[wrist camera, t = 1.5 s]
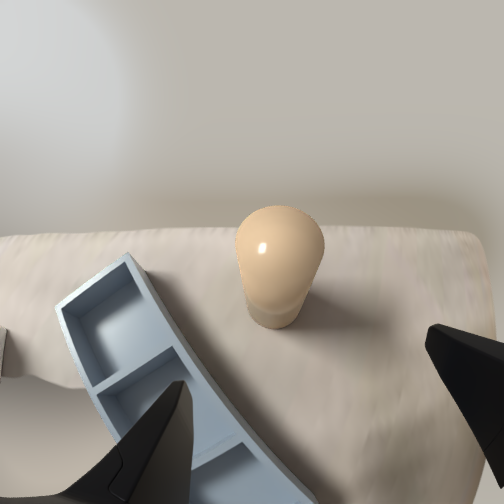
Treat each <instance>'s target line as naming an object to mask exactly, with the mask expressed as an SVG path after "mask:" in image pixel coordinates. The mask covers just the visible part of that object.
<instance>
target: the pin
mask: <svg viewBox="0 0 504 504" xmlns="http://www.w3.org/2000/svg"><path fill="white" fill-rule="evenodd" d="M235 247H236V253H237V258H238V263H239V268H240V273H241V278H242V283H243V288H244V293H245V298H246V303H247V308H248V311H249V314H250V316H251V317H252V319H253V320H254V321H255V322H256V323H258V324H259V325H261V326H263V327H266V328H270V329H278V328H282V327H285V326H287V325H289V324H290V323H292V322H293V321H294V320H295V319H296V317H297V316H298V314H299V312H300V309H301V307H302V305H303V303H304V300H305V298H306V296H307V293H308V291H309V289H310V286H311V284H312V282H313V279H314V277H315V275H316V272H317V270H318V267H319V265H320V262H321V260H322V257H323V254H324V237H323V234H322V231H321V229H320V228H319V226H318V225H317V223H316V222H315V221H314V220H313V219H312V218H311V217H310V216H309V215H307V214H306V213H304V212H303V211H301V210H298V209H296V208H293V207H289V206H269V207H265V208H262V209H259V210H257V211H255V212H254V213H252V214H251V215H249V216H248V217H247V218H246V219H245V220H244V221H243V222H242V224H241V226H240V227H239V229H238V232H237V235H236V240H235Z"/></svg>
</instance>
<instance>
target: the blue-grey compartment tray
mask: <svg viewBox="0 0 504 504" xmlns="http://www.w3.org/2000/svg"><path fill="white" fill-rule="evenodd" d="M55 309H56V313H57V316H58V319H59V322H60V325H61V328H62V331H63V334H64V337H65V339H66V342H67V345H68V347H69V350H70V352H71V355H72V357H73V360H74V362H75V365H76V367H77V369H78V372H79V374H80V376H81V378H82V380H83V383H84V385H85V387H86V389H87V391H88V393H89V395H90V397H91V399H92V401H93V403H94V405H95V407H96V409H97V410H98V412H99V414H100V416H101V418H102V419H103V421H104V423H105V425H106V426H107V428H108V430H109V432H110V433H111V435H112V436H113V438H114V440H115V441H116V443H118V442H119V441H120V440H121V439H122V437H123V436H124V435H125V434H126V433H127V432H128V431H129V430H130V429H131V428H132V426H133V425H134V424H135V423H136V422H137V421H138V420H139V419H140V418H141V416H142V415H143V414H144V413H145V412H146V411H147V410H148V409H149V407H150V406H151V405H152V404H153V403H154V402H155V401H156V399H157V398H158V397H159V396H160V395H161V394H162V393H163V392H164V390H165V389H166V388H167V387H168V386H169V385H170V384H171V382H172V381H175V380H184V381H185V382H186V383H187V386H188V388H189V390H190V393H191V395H192V399H193V424H194V445H193V456H192V468H191V481H190V495H189V504H319V503H318V501H317V499H316V497H315V495H314V494H313V493H312V492H311V491H310V490H309V489H308V488H307V487H306V486H305V485H304V484H303V483H302V482H301V481H300V480H299V479H298V478H297V477H296V476H295V475H294V474H293V473H292V472H291V471H290V470H289V469H288V468H287V467H286V466H285V465H284V464H283V463H282V462H281V461H280V459H279V458H278V457H277V456H276V455H275V454H274V453H273V452H272V451H271V450H270V448H269V447H268V446H267V445H266V444H265V443H264V442H263V441H262V439H261V438H260V437H259V436H258V435H257V434H256V432H255V431H254V430H253V429H252V428H251V426H250V425H249V424H248V423H247V422H246V420H245V419H244V418H243V417H242V415H241V414H240V413H239V412H238V410H237V409H236V408H235V407H234V405H233V404H232V403H231V402H230V400H229V399H228V398H227V396H226V395H225V394H224V392H223V391H222V390H221V388H220V387H219V386H218V384H217V383H216V382H215V380H214V379H213V378H212V376H211V375H210V373H209V372H208V371H207V369H206V368H205V366H204V365H203V364H202V362H201V361H200V359H199V358H198V356H197V355H196V353H195V352H194V351H193V349H192V348H191V346H190V345H189V343H188V342H187V340H186V339H185V337H184V336H183V334H182V332H181V331H180V329H179V328H178V326H177V325H176V323H175V322H174V320H173V318H172V317H171V315H170V314H169V312H168V310H167V309H166V307H165V305H164V304H163V302H162V300H161V299H160V297H159V295H158V294H157V292H156V290H155V288H154V287H153V285H152V283H151V282H150V280H149V278H148V276H147V274H146V273H145V271H144V269H143V268H142V267H141V266H140V265H139V264H138V263H137V262H136V260H135V259H134V258H133V257H132V256H131V255H130V254H129V252H127V253H126V254H124V255H123V256H122V257H120V258H119V259H117V260H116V261H115V262H113V263H112V264H110V265H109V266H108V267H106V268H105V269H103V270H102V271H101V272H99V273H98V274H97V275H95V276H94V277H93V278H91V279H90V280H89V281H87V282H86V283H85V284H83V285H82V286H81V287H79V288H78V289H77V290H75V291H74V292H73V293H71V294H70V295H69V296H68V297H66V298H65V299H64V300H62V301H61V302H60V303H59V304H57V305H56V306H55Z"/></svg>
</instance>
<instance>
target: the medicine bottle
mask: <svg viewBox="0 0 504 504" xmlns="http://www.w3.org/2000/svg"><path fill="white" fill-rule="evenodd" d="M6 332H7V330H6V328H5V327H3V326H0V382H1V370H2V360H3V352H4V345H5V338H6Z"/></svg>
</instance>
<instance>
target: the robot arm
mask: <svg viewBox="0 0 504 504" xmlns="http://www.w3.org/2000/svg"><path fill="white" fill-rule="evenodd" d="M425 348H426V351H427V352H428V354H429V356H430V358H431V360H432V362H433V364H434V366H435V368H436V370H437V372H438V374H439V376H440V378H441V379H442V381H443V383H444V384H445V386H446V387H447V389H448V391H449V392H450V394H451V395H452V397H453V399H454V400H455V402H456V404H457V405H458V407H459V409H460V411H461V412H462V414H463V416H464V417H465V419H466V421H467V423H468V424H469V426H470V428H471V430H472V432H473V434H474V435H475V437H476V439H477V441H478V443H479V445H480V447H481V449H482V451H483V452H484V455H485V457H486V459H487V461H488V463H489V465H490V467H491V469H492V472H493V474H494V476H495V478H496V480H497V483H498V485H499V487H500V488H501V489H502V488H503V487H504V343H502V342H498V341H495V340H492V339H488V338H485V337H481V336H478V335H475V334H471V333H468V332H465V331H461V330H458V329H455V328H452V327H448V326H445V325H442V324H435V325H432V326H430V327H429V329H428V332H427V337H426V341H425ZM193 445H194V424H193V399H192V395H191V393H190V390H189V388H188V386H187V383H186V382H185V381H184V380H175V381H172V382H171V384H170V385H169V386H168V387H167V388H166V389H165V390H164V392H163V393H162V394H161V395H160V396H159V397H158V398H157V399H156V401H155V402H154V403H153V404H152V405H151V406H150V407H149V409H148V410H147V411H146V412H145V413H144V414H143V415H142V416H141V418H140V419H139V420H138V421H137V422H136V423H135V424H134V425H133V426H132V428H131V429H130V430H129V431H128V432H127V433H126V434H125V435H124V436H123V437H122V439H121V440H120V441H119V442H118V443H117V446H116V445H115V446H114V447H113V448H112V449H111V450H110V452H109V453H108V454H107V455H106V456H105V457H104V458H103V459H102V460H101V461H100V462H99V463H97V464H96V465H95V466H94V467H93V468H92V469H91V470H90V471H88V472H87V473H86V474H85V475H84V476H82V477H81V478H80V479H79V480H77V482H75V483H74V484H72V485H71V486H70V487H69V488H67V489H66V490H65V491H63V492H60V493H58V494H55V495H49V496H38V497H21V498H20V497H19V498H6V497H5V498H4V497H0V504H189V495H190V481H191V468H192V456H193Z"/></svg>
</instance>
